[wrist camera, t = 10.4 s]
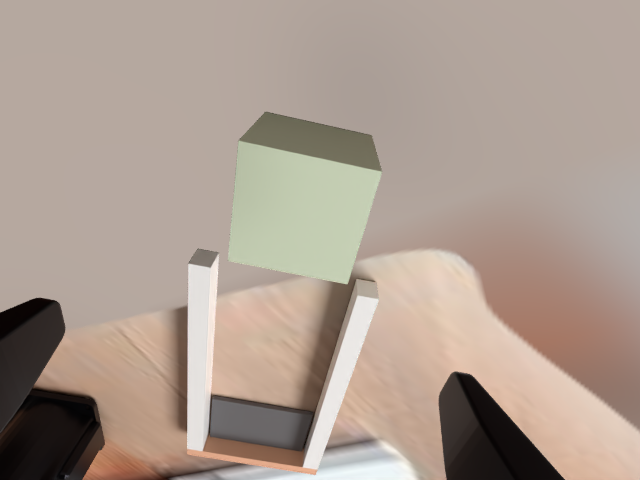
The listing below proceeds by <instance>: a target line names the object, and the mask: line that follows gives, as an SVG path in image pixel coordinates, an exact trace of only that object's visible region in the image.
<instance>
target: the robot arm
mask: <svg viewBox="0 0 640 480" xmlns="http://www.w3.org/2000/svg"><path fill="white" fill-rule="evenodd" d="M64 333H65V323H64V319H63V315H62V310H61V307H60V304H59V303H58V302H57V301H55V300H50V299H44V298H35V299H32V300H29V301H27V302H25V303H22V304H20V305H17V306H15V307H13V308H10V309H8V310H6V311H3V312H1V313H0V480H82V479H83V477H84V475H85V474H86V472H87V470H88V469H89V467H90V465H91V463H92V462H93V460H94V458H95V456H96V455H97V453H98V451H99V450H102V448H103V447H104V445H105V441H104V436H103V432H102V427H101V422H100V417H99V412H98V407H97V404H96V402H95V401H93V400H90V399H85V398H79V397H73V396H67V395H61V394H55V393H48V392H42V391H36V390H31V389H32V387H33V386H34V384H35V383H36V381H37V379H38V378H39V376H40V374H41V373H42V371H43V370H44V368H45V366H46V365H47V363H48V361H49V360H50V358H51V356H52V355H53V353H54V352H55V350H56V348H57V347H58V345H59V343H60V342H61V340H62V338H63V336H64ZM439 412H440V423H441V433H442V444H443V455H444V464H445V472H446V478H447V480H565V479H564V478H563V477H562V476H561V475H560V474H559V473H558V471H557V470H556V469H555V468H554V467H553V466H552V465H551V464H550V462H549V461H548V460H547V459H546V458H545V457H544V456H543V455H542V453H541V452H540V451H539V450H538V449H537V448H536V447H535V445H534V444H533V443H532V442H531V441H530V440H529V439H528V438H527V436H526V435H525V434H524V433H523V432H522V431H521V430H520V429H519V427H518V426H517V425H516V424H515V423H514V422H513V421H512V420H511V418H510V417H509V416H508V415H507V414H506V413H505V412H504V411H503V409H502V408H501V407H500V406H499V405H498V404H497V403H496V401H495V400H494V399H493V398H492V397H491V396H490V395H489V394H488V392H487V391H486V390H485V389H484V388H483V387H482V386H481V385H480V383H479V382H478V381H477V380H476V379H475V378H474V377H473V376H472V375H470V374H467V373H461V372H453V373H451V375H450V376H449V378H448V380H447V382H446V383H445V385H444V387H443V389H442V390H441V392H440V395H439Z"/></svg>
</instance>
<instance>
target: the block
mask: <svg viewBox="0 0 640 480" xmlns="http://www.w3.org/2000/svg"><path fill="white" fill-rule="evenodd" d="M381 174H382V170H381V166H380V162H379V159H378V155H377V152H376V148H375V145H374V142H373V138H372V135H369V134H364V133H360V132H355V131H351V130H346V129H342V128H337V127H333V126H328V125H324V124H319V123H315V122H310V121H306V120H301V119H297V118H292V117H287V116H283V115H278V114H274V113H270V112H265V113H264V114H263V115H262V116H261V117H260V118H259V119H258V120H257V122H256V123H255V124H254V125H253V126H252V127H251V128H250V129H249V130H248V131H247V132H246V133H245V134H244V135H243V136H242V137H241V138H240V140H239V141H238V151H237V163H236V174H235V186H234V197H233V209H232V220H231V232H230V244H229V255H228V261H231V262H236V263H241V264H246V265H252V266H256V267H261V268H266V269H271V270H277V271H282V272H287V273H292V274H297V275H302V276H307V277H312V278H317V279H322V280H327V281H332V282H337V283H342V284H348V281H349V278H350V275H351V272H352V268H353V265H354V262H355V259H356V255H357V252H358V249H359V246H360V242H361V239H362V236H363V233H364V229H365V226H366V223H367V220H368V216H369V213H370V210H371V207H372V203H373V200H374V197H375V193H376V190H377V187H378V184H379V181H380V177H381Z"/></svg>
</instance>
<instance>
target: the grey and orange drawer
mask: <svg viewBox="0 0 640 480" xmlns="http://www.w3.org/2000/svg"><path fill="white" fill-rule="evenodd" d="M312 415H313V412H308V411H302V410H296V409H291V408H285V407H279V406H273V405H267V404H261V403H255V402H249V401H243V400H237V399H231V398H225V397H219V396H213V398H212V412H211V428H210V433H208V436H207V439H206V442H205V446H204V449H203V451H197V450H191V449H187V454H188V455H194V456H201V457H207V458H213V459H219V460H226V461H232V462H238V463H244V464H251V465H257V466H263V467H269V468H276V469H282V470H288V471H295V472H301V473H307V474H313V475H316V472H317V470H316V469H309V468H303V457H304V448H303V445H304V442H305V439H306V436H307V432H308V429H309V426H310V422H311V419H312Z"/></svg>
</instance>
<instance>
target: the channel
mask: <svg viewBox="0 0 640 480" xmlns="http://www.w3.org/2000/svg"><path fill="white" fill-rule="evenodd" d="M218 262H219V253H218V252H212V251H208V250H202V249H197V251H196V252H195V254H194V256H193V257H192V258H191V260H190V261H189V263H188V405H187V449H191V450H197V451H203V449H204V446H205V442H206V439H207V436H208V433H209V419H210V402H211V384H212V367H213V349H214V332H215V314H216V297H217V280H218ZM378 301H379V295H378V288H377V283H376V282H371V281H366V280H360V279H356V282H355V286H354V289H353V292H352V295H351V299H350V302H349V305H348V308H347V311H346V315H345V318H344V321H343V324H342V328H341V331H340V334H339V337H338V341H337V344H336V347H335V350H334V354H333V357H332V360H331V363H330V367H329V370H328V373H327V376H326V380H325V383H324V386H323V389H322V393H321V396H320V399H319V402H318V406H317V409H316V412H315V415H314V419H313V422H312V425H311V428H310V432H309V435H308V438H307V441H306V445H305V448H304V457H303V468H309V469H316V470H317V469H318V467H319V464H320V461H321V458H322V455H323V453H324V450H325V447H326V444H327V442H328V439H329V436H330V433H331V431H332V428H333V425H334V422H335V420H336V417H337V414H338V411H339V409H340V406H341V403H342V400H343V398H344V395H345V392H346V389H347V386H348V384H349V381H350V378H351V375H352V373H353V370H354V367H355V364H356V362H357V359H358V356H359V353H360V351H361V348H362V345H363V342H364V340H365V337H366V334H367V331H368V328H369V326H370V323H371V320H372V317H373V315H374V312H375V309H376V306H377V304H378Z"/></svg>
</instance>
